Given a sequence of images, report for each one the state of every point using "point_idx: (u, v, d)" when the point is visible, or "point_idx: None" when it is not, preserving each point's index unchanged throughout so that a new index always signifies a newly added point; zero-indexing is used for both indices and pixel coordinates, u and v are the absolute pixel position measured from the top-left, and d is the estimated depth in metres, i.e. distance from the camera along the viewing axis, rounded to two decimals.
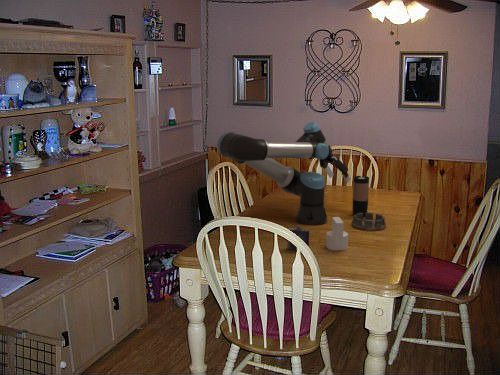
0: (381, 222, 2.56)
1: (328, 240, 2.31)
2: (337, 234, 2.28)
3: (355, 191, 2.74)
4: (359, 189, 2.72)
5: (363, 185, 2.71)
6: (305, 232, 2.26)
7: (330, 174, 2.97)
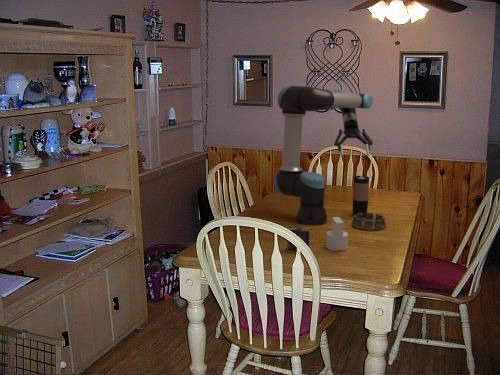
0: (381, 222, 2.56)
1: (328, 240, 2.31)
2: (337, 234, 2.28)
3: (355, 191, 2.74)
4: (359, 189, 2.72)
5: (363, 185, 2.71)
6: (305, 232, 2.26)
7: None
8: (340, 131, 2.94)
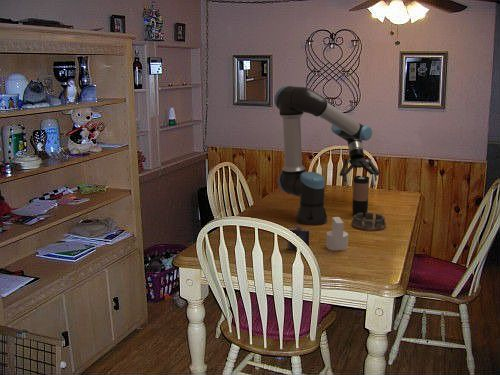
0: (381, 222, 2.56)
1: (328, 240, 2.31)
2: (337, 234, 2.28)
3: (355, 191, 2.74)
4: (359, 189, 2.72)
5: (363, 185, 2.71)
6: (305, 232, 2.26)
7: None
8: (346, 160, 2.86)
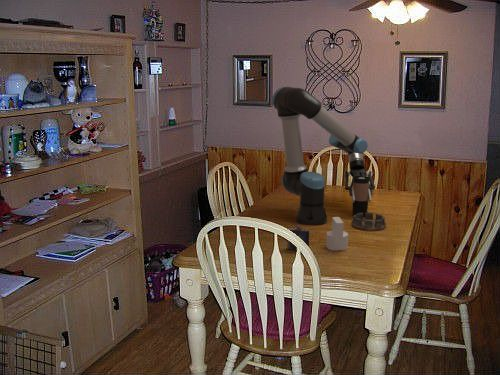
0: (381, 222, 2.56)
1: (328, 240, 2.31)
2: (337, 234, 2.28)
3: (355, 191, 2.73)
4: (359, 189, 2.72)
5: (363, 185, 2.71)
6: (305, 232, 2.26)
7: None
8: (347, 173, 2.80)
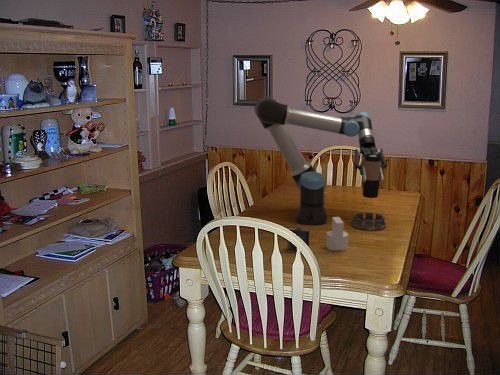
0: (381, 222, 2.56)
1: (328, 240, 2.31)
2: (337, 234, 2.28)
3: (366, 170, 2.58)
4: (371, 168, 2.56)
5: (375, 163, 2.56)
6: (305, 232, 2.26)
7: None
8: (357, 151, 2.64)
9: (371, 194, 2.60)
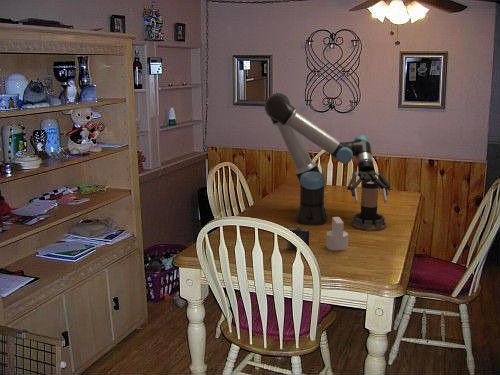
0: (381, 222, 2.56)
1: (328, 240, 2.31)
2: (337, 234, 2.28)
3: (363, 197, 2.57)
4: (368, 195, 2.55)
5: (372, 190, 2.54)
6: (305, 232, 2.26)
7: None
8: (354, 173, 2.64)
9: None
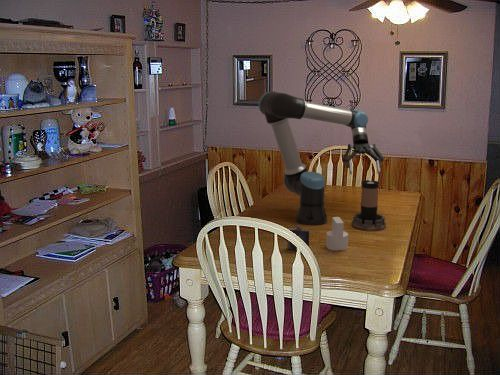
0: (381, 222, 2.56)
1: (328, 240, 2.31)
2: (337, 234, 2.28)
3: (363, 197, 2.57)
4: (368, 195, 2.55)
5: (372, 190, 2.54)
6: (305, 232, 2.26)
7: None
8: (349, 146, 2.75)
9: (369, 220, 2.58)
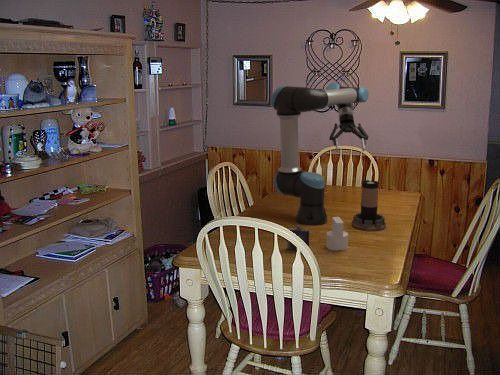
0: (381, 222, 2.56)
1: (328, 240, 2.31)
2: (337, 234, 2.28)
3: (363, 197, 2.57)
4: (368, 195, 2.55)
5: (372, 190, 2.54)
6: (305, 232, 2.26)
7: None
8: (335, 125, 2.89)
9: (369, 220, 2.58)
